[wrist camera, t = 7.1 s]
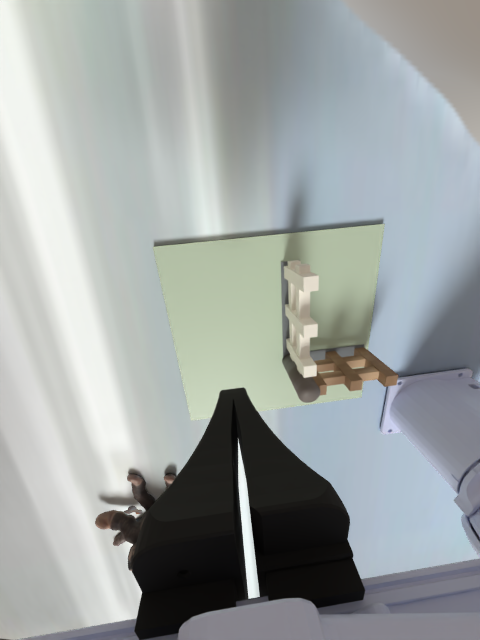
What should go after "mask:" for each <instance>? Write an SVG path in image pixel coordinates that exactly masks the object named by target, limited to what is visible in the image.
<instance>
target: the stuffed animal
mask: <svg viewBox="0 0 480 640" xmlns="http://www.w3.org/2000/svg"><path fill="white" fill-rule="evenodd" d="M175 478H176V476H175V475H173V474H167V475H165V476H164V480H165V483H166V486H167V488H168V487H169V486H170V485H171V483H172V482H173V481H174V479H175ZM127 480H128V481H130V482H132V491H133V494H134V498H135V499H136V500H137V501H138V502H139V503H140V504H141V506H143V507H144V508H145V510H146V512H145V514H144V515H143V517H141V518H138V519H135V517H134V516H132V515H127V514H130V513H132V512H136V514H141V513H142V510H138V509H136V507H135V506H131V507H129V508H128V510H126V511H124V512H122V511H116V510H112V511H108V512H104V513H102V514H100V515H98V517H97V518H96V521H95V524H96V526H97V527H98V528H100V529H112V530H120V531H121V533H120V534H118V535H117V537H116V538H115V539H114V542H113V545H114V546H119V545H120V544H122V543H123V542H125V541H127V542H129V543H132V544H133V546H132V547H131V549H130V552H129V556H128V568H129V570H130V571H132V569H131V563H132V559H133V555H134V551H135V547H136V543H137V539H138V535H139V532H140V530H141V527H142V524H143V522H144V519H145V517H146V514H147V512H148V510H149V508H150V507H151V506H152V505H153V504H154V503H155V502H156V501H155V499H154V498H153V497H152V496H151V495H150V494H148V493H147V491H146V488H145V485H146V483H145V481H144V480H143V479H142V478H141V477H140V476H138V475H135V474H129V475H128V476H127ZM125 513H126V514H125Z"/></svg>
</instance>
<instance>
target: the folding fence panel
mask: <svg viewBox="0 0 480 640" xmlns="http://www.w3.org/2000/svg"><path fill="white" fill-rule="evenodd" d="M284 278H285V279H286V280H288V295H289V304H286V305H285V314H286V316H287V318H288V319H289V332H290V338H288V339H286V344H287V350H288V351H289V353H290V357H291V359H292V361H294V362H295V363H296V365H297V370H298V371H299V373H300V374H302V376H303V377H304V378H306V377H313V376H317V365H316V363H315V362H314V361H313V359H312V358H311V356H310V338H311V337H317V333H318V324H317V323H316V322H315V321H314V320H313V319H312V318H311V317H310V292H312V291H318V289H319V275H316V274H314V273H312V272H310V265H309V264H301V261H299V260H293V261H288V266H284Z"/></svg>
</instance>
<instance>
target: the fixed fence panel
mask: <svg viewBox="0 0 480 640" xmlns="http://www.w3.org/2000/svg"><path fill="white" fill-rule="evenodd" d="M314 362H315V363H316V365H317V376H313V377H306V378H304V377H303V376H302V374H300V373H299V371H298V370H297V365H296V363H295V362H294V361H292V359H291V357H290V353H289V354H287V355H285V356H284V358H283V359H282V363H283V366H284V368H285V370H286V372H287V374H288V376H289V378H290V380H291V382H292V384H293V386H294V389H295V391H296V393H297V395H298V397H299V399H300V400H301V401H302V402H305V403H310V402H313V401H315V400H316V399H318V397H319V396H320V395H326V392H327V386H331V385H339V384H344V385H345V386H346V387H347V388H348V390H349V391H357V390H362V383H363V381H368V380H376V379H377V380H378V381H379V382H380V383H381V384H383V385H384V386H385V387H387V386H394V385H397V380H398V374H396V373H395V372H394V371H393V370H391V369H390V368H389V367H388V366H387V365H385V364H384V363H383V362H382V361H380V360H379V359H378V358H377V357H375V356H374V355H373V354H372V353H371V352H369V351H368V350H367V349H366V348H364V347H362V348H354V356H348V357H341V356H340V355H339V354H338V353H337V352H336V351H330V352H325V359H324V360H316V361H314ZM356 367H364V368H356ZM352 368H356V369H352ZM326 371H334V372H326ZM318 372H326V373H318Z"/></svg>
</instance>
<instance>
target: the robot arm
mask: <svg viewBox="0 0 480 640" xmlns="http://www.w3.org/2000/svg"><path fill="white" fill-rule="evenodd" d="M472 374H473V371H472V370H470V369H469V368H466V369H459V370H451V371H444V372H437V373H429V374H422V375H414V376H407V377H399V378H398V380H397V385H394V386H388V390H387V396H386V401H385V406H384V412H383V417H382V423H381V428H380V431H381V433H382V434H392V433H398V432H402V433H403V434H404V435H405V436H406V438H407V439H408V440H409V441H410V442H411V443H412V444H413V445H414V446H415V448H416V449H417V450H418V451H419V452H420V453H421V454H422V455H423V456H424V458H425V459H426V460H427V461H428V462H429V463H430V464H431V465H432V466H433V468H434V469H435V470H436V471H437V472H438V473H439V474H440V475H441V476H442V478H443V479H444V480H445V481H446V482H447V483H448V484H449V485H450V486H451V488H452V489H453V490H454V491H455V492H456V493H457V494H458V495H457V497H456V498H455V499H454V502H455V503H456V504H457V505H458V507H459V508H460V509H461V510H462V511H463V512H464V514H463V515H462V517H461V522H462V526H463V528H464V530H465V533H466V536H467V538H468V540H469V542H470V544H471V546H472V547H473V549H474V550H475V552H476V553H477V555H478V556H479V557H480V383H479V382H478V381H476V380H474V379H473V378H471V377H472ZM238 439H239V444H240V449H241V455H242V460H243V465H244V470H245V475H246V481H247V488H248V497H249V506H250V514H251V523H252V531H253V540H254V549H255V557H256V566H257V575H258V583H259V592H260V597H257V598H251V599H248V590H247V579H246V568H245V557H244V546H243V535H242V523H241V512H240V500H239V488H238ZM349 525H350V518H349V515H348V513H347V510H346V508H345V506H344V504H343V503H342V501H341V499H340V498H339V496H338V494H337V493H336V491H335V490H334V488H333V487H332V485H331V484H330V482H328V481H327V480H326V479H324V478H323V477H321V476H320V475H319V474H317V473H316V472H315V471H313V470H312V469H311V468H310V467H308V466H307V465H306V464H305V463H304V462H302V461H301V460H300V459H299V458H298V457H297V456H296V455H295V454H293V453H292V452H291V451H290V450H289V449H288V448H287V447H286V446H285V445H284V444H283V443H282V442H281V441H280V440H279V439H278V438H277V436H276V435H275V434H274V433H273V432H272V431H271V429H270V428H269V427H268V426H267V424H266V423H265V422H264V420H263V419H262V418H261V416H260V415H259V413H258V412H257V410H256V409H255V407H254V405H253V404H252V402H251V400H250V398H249V396H248V394H247V391H246V389H245V388H244V387H243V388H235V389H227V390H221V391H220V393H219V398H218V401H217V404H216V407H215V410H214V413H213V415H212V418H211V420H210V422H209V425H208V427H207V429H206V431H205V433H204V435H203V437H202V439H201V441H200V442H199V444H198V446H197V448H196V449H195V451H194V452H193V454H192V456H191V457H190V459H189V460H188V462H187V463H186V465H185V466H184V468H183V469H182V470H181V472H180V473H179V474H178V475H177V477H176V478H175V479H174V481H173V482H172V483H171V485H170V486H169V487H168V488H167V489H166V491H165V492H164V493H163V494H162V495H161V496H160V497H159V498H158V500H157V501H156V502H155V503H154V504H153V505H152V506H151V507H150V508H149V510H148V512H147V514H146V517H145V519H144V522H143V524H142V527H141V530H140V532H139V535H138V539H137V543H136V547H135V551H134V555H133V559H132V563H131V569H132V572H133V574H134V576H135V578H136V580H137V582H138V584H139V586H140V588H141V590H142V596H141V601H140V606H139V611H138V616H137V619H131V620H126V621H120V622H114V623H108V624H103V625H97V626H91V627H86V628H80V629H74V630H68V631H63V632H57V633H51V634H46V635H40V636H34V637H28V638H23V639H17V640H480V559H474V560H469V561H463V562H457V563H452V564H446V565H440V566H434V567H429V568H423V569H417V570H411V571H406V572H400V573H394V574H389V575H383V576H377V577H371V578H366V579H361V578H360V576H359V573H358V571H357V568H356V566H355V563H354V561H353V559H352V558H353V552H352V550H351V547H350V545H349V542H348V540H347V538H348V532H349Z"/></svg>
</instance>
